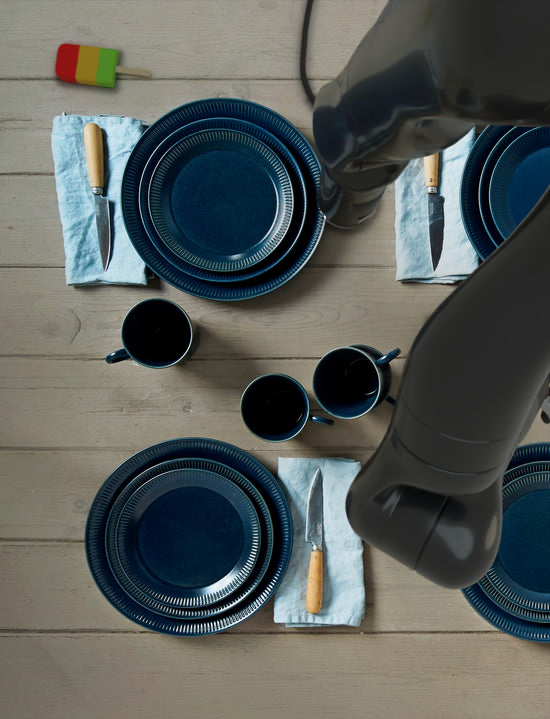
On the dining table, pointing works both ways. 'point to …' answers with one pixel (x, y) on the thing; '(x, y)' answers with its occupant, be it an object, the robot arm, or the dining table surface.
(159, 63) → the dining table surface
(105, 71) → the popsicle
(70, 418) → the dining table surface
